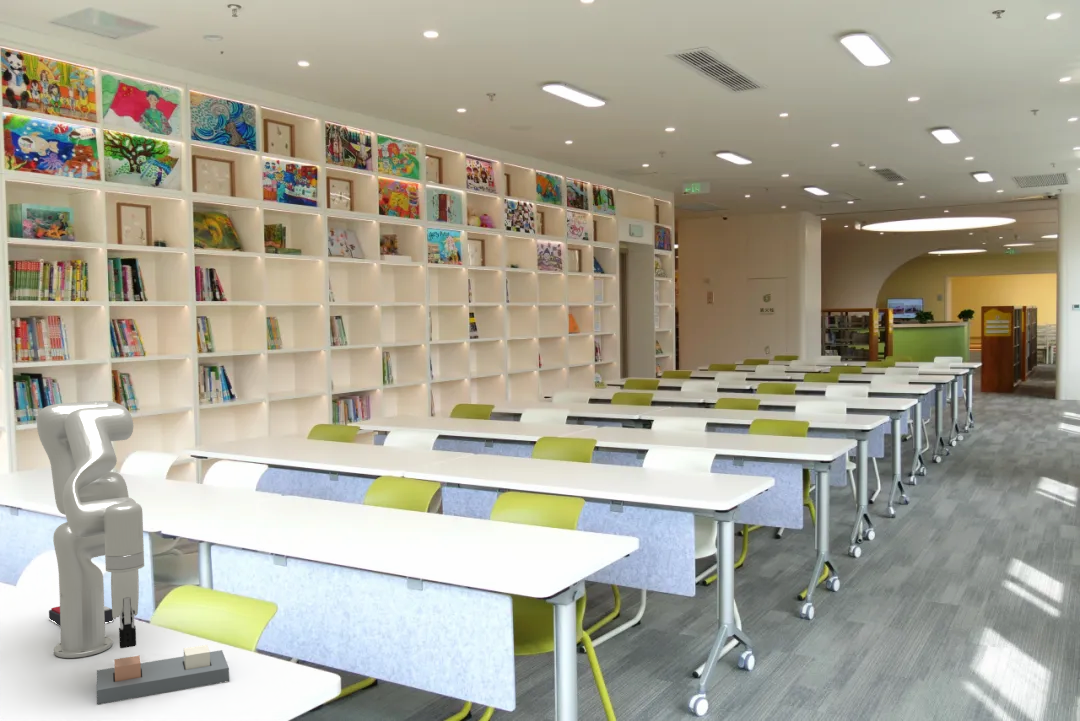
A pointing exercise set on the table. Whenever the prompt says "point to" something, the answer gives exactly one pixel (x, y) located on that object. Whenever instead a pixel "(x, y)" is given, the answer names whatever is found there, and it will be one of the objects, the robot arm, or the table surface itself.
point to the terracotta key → (127, 668)
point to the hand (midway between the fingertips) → (127, 645)
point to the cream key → (196, 657)
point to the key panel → (161, 678)
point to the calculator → (55, 614)
